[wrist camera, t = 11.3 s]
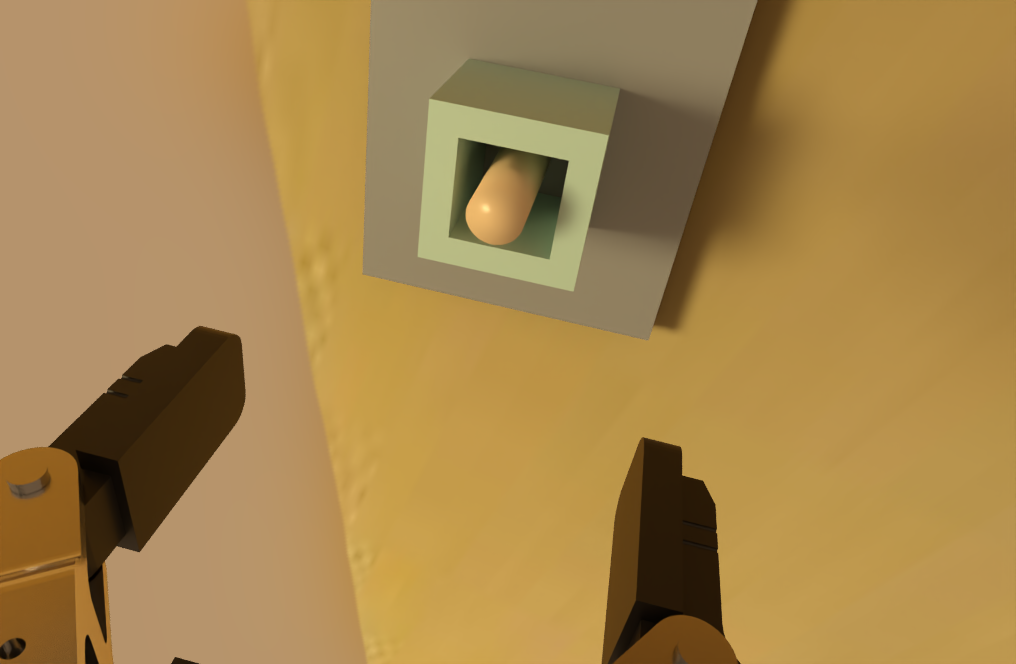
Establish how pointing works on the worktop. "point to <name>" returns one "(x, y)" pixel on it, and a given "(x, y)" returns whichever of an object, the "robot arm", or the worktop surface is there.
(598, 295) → the board
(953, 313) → the worktop surface
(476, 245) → the collar
